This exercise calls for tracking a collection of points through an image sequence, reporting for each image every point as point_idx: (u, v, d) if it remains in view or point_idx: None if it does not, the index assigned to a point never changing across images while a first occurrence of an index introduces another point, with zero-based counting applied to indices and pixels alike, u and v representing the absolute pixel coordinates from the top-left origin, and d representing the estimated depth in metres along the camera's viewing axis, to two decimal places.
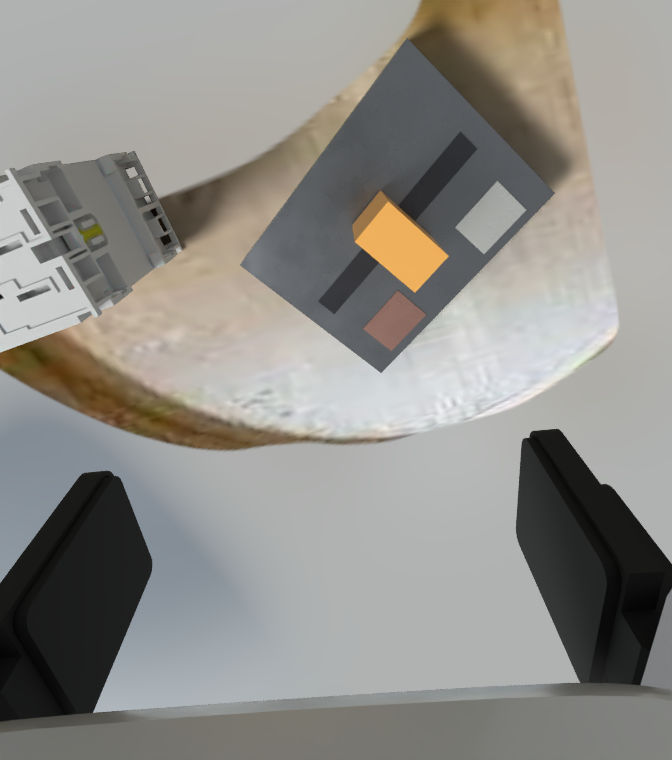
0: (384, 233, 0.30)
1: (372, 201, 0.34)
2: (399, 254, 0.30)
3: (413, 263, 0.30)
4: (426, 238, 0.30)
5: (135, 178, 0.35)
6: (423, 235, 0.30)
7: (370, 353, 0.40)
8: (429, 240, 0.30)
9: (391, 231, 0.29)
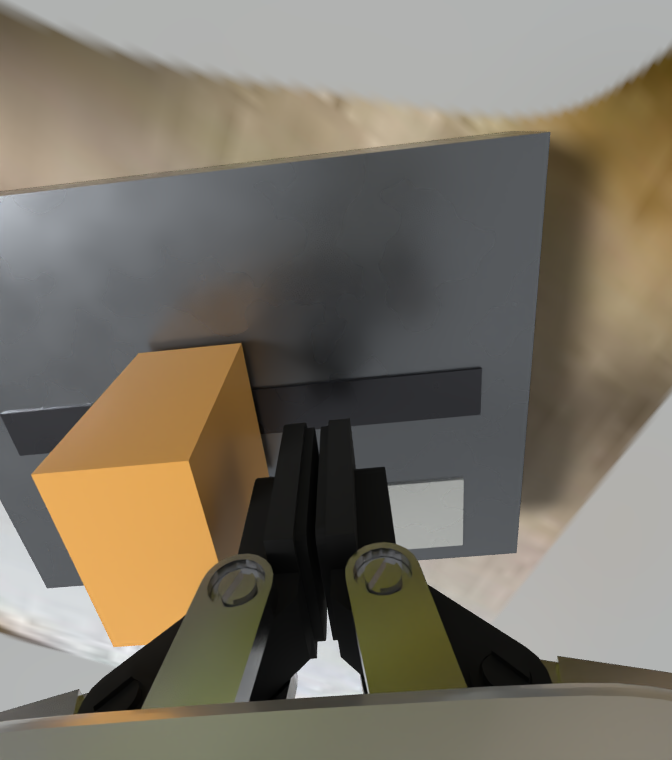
0: (125, 511, 0.10)
1: (207, 352, 0.14)
2: (131, 569, 0.10)
3: (153, 603, 0.11)
4: None
5: None
6: None
7: (48, 551, 0.18)
8: None
9: (148, 521, 0.10)
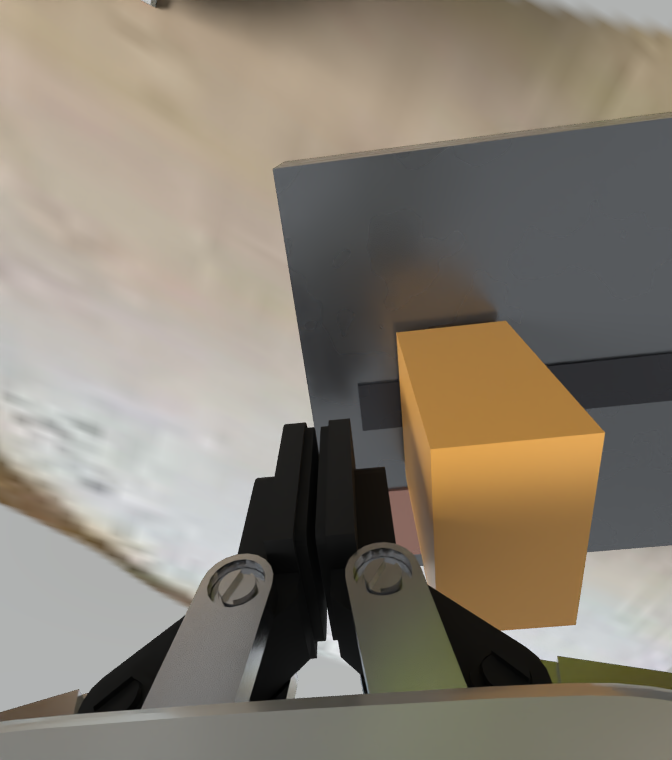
0: (514, 488, 0.09)
1: (477, 329, 0.13)
2: (492, 552, 0.10)
3: (500, 587, 0.10)
4: (578, 565, 0.10)
5: None
6: (581, 557, 0.10)
7: None
8: (579, 573, 0.10)
9: (532, 499, 0.09)
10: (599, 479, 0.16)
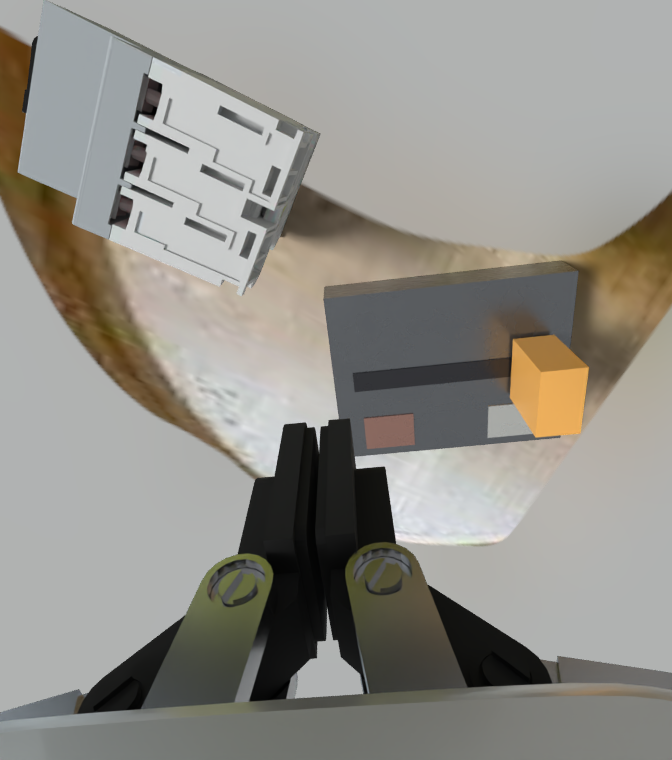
0: (563, 384, 0.32)
1: (544, 338, 0.36)
2: (555, 405, 0.33)
3: (557, 418, 0.33)
4: (581, 410, 0.33)
5: (308, 160, 0.32)
6: (582, 407, 0.33)
7: None
8: (581, 413, 0.33)
9: (568, 387, 0.32)
10: (452, 413, 0.40)
